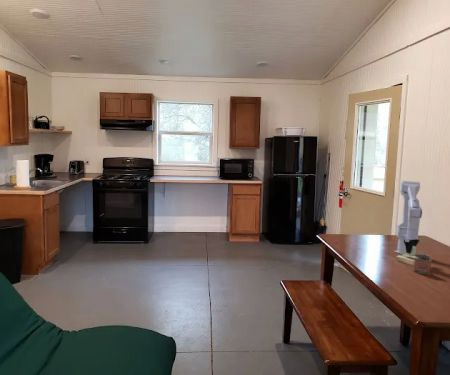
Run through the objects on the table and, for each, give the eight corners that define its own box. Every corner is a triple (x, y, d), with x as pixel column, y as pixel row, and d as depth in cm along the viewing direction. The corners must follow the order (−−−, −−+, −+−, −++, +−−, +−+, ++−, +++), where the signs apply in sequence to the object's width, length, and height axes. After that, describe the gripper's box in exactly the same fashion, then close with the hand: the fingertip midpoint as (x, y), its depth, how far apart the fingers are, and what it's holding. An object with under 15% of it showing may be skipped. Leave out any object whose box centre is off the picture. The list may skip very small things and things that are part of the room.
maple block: (405, 258, 227) (405, 253, 227) (422, 263, 219) (422, 258, 219) (395, 261, 221) (396, 256, 221) (412, 266, 213) (413, 261, 213)
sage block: (407, 253, 223) (408, 244, 222) (415, 255, 220) (416, 246, 219) (404, 254, 220) (405, 246, 219) (412, 256, 216) (413, 247, 216)
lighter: (429, 272, 202) (431, 254, 201) (430, 275, 199) (432, 256, 198) (412, 270, 205) (414, 252, 203) (413, 272, 202) (415, 253, 200)
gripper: (410, 225, 225) (407, 248, 227) (400, 229, 215) (397, 252, 217) (423, 228, 221) (420, 251, 222) (413, 231, 210) (410, 256, 212)
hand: (410, 252), depth 219 cm, fingers closed on sage block, 4 cm apart
